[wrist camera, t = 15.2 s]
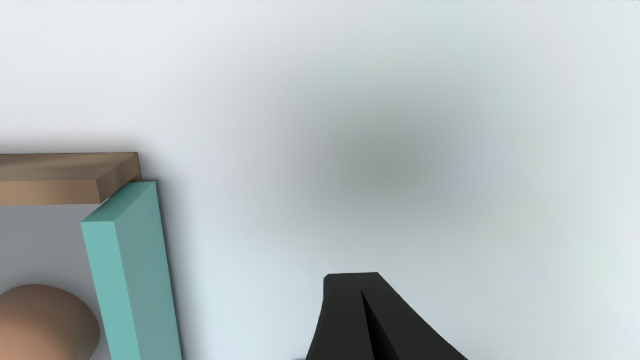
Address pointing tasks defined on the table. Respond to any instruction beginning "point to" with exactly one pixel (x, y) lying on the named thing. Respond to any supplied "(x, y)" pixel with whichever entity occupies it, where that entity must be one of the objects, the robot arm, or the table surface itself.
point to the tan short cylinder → (46, 325)
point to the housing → (64, 177)
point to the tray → (100, 266)
